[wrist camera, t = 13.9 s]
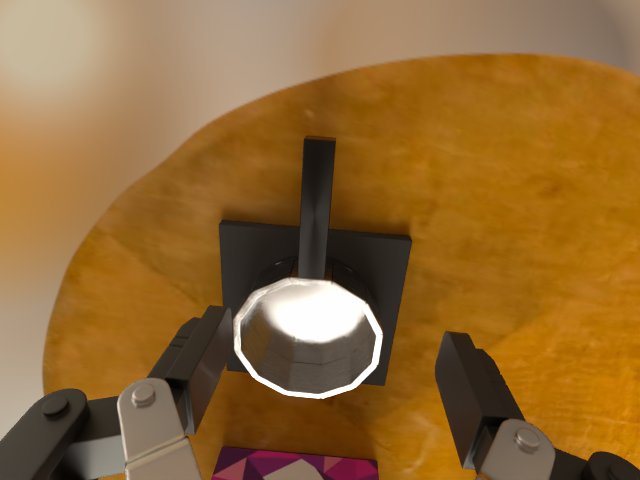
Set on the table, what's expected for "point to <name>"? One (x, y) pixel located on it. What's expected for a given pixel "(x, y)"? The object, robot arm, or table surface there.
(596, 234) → the table surface
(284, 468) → the decorative box
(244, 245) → the trivet
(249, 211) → the table surface
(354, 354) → the steel pan
